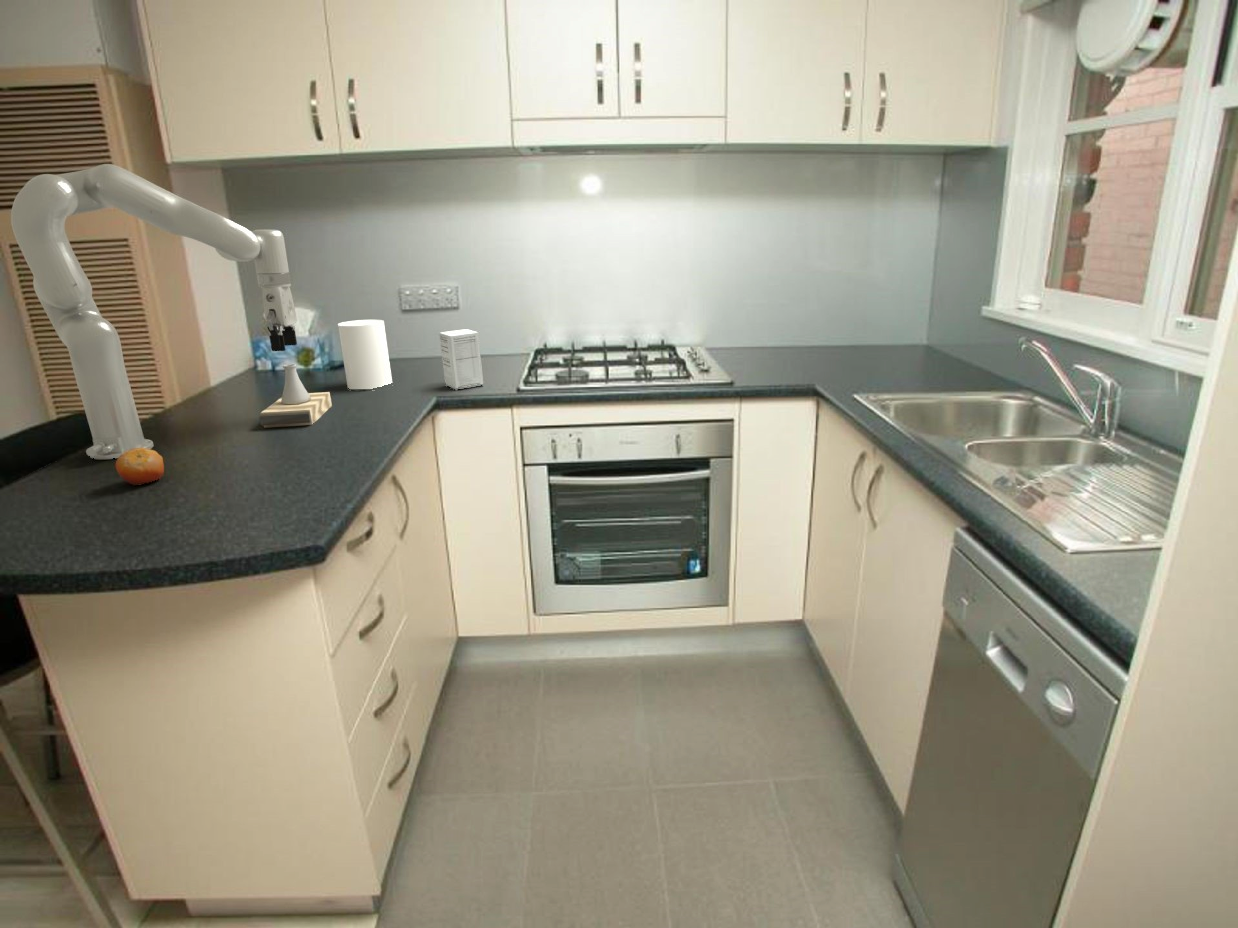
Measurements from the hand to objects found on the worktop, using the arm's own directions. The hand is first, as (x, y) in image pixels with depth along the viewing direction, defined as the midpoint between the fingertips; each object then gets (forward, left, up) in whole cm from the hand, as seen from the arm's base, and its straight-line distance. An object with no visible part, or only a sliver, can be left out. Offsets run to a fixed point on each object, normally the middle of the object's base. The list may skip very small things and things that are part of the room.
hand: (284, 348), depth 185 cm
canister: (+34, -12, -19) cm, 41 cm away
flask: (0, 0, -15) cm, 15 cm away
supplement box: (+26, -42, -19) cm, 53 cm away
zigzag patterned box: (0, 0, -19) cm, 19 cm away
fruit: (-48, +17, -19) cm, 54 cm away
